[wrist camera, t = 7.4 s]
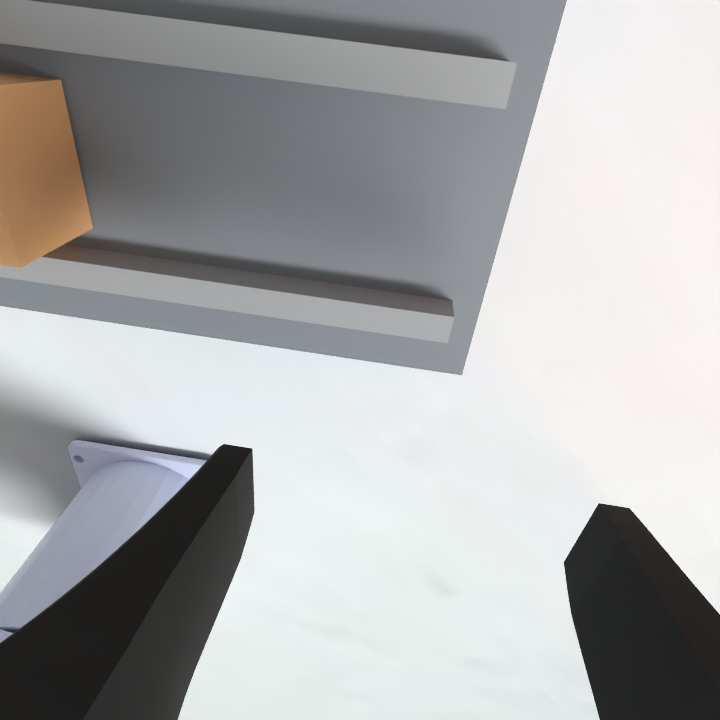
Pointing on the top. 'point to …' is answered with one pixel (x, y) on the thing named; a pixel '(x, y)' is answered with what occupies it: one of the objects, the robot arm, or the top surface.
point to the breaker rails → (287, 165)
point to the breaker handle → (37, 171)
